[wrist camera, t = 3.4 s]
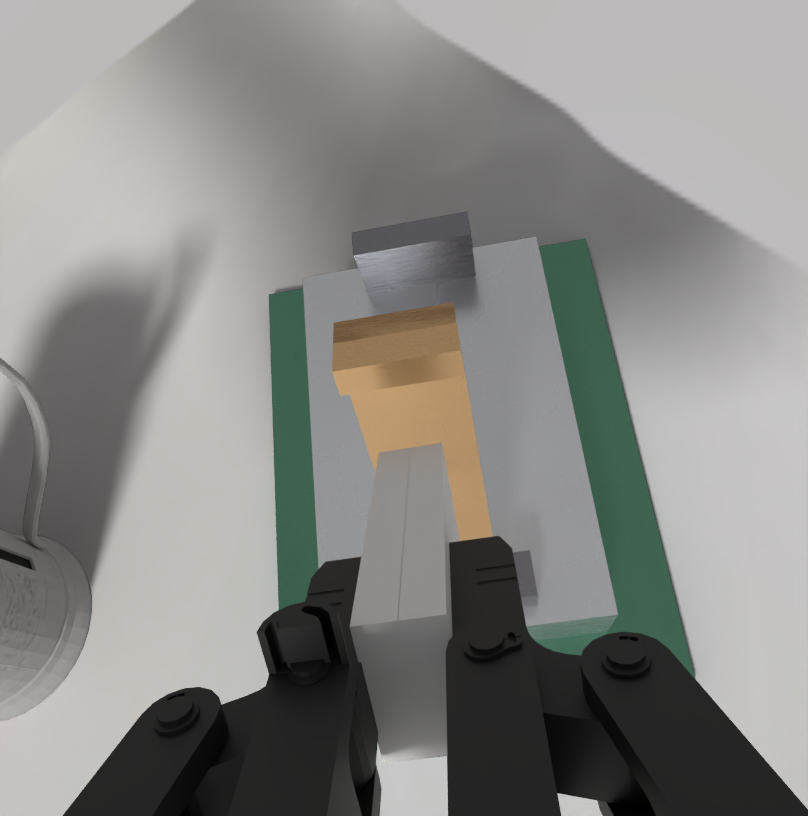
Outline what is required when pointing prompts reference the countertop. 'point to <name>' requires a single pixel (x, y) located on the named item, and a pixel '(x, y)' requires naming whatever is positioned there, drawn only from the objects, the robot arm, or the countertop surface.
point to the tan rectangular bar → (415, 397)
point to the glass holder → (37, 591)
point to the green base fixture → (482, 426)
